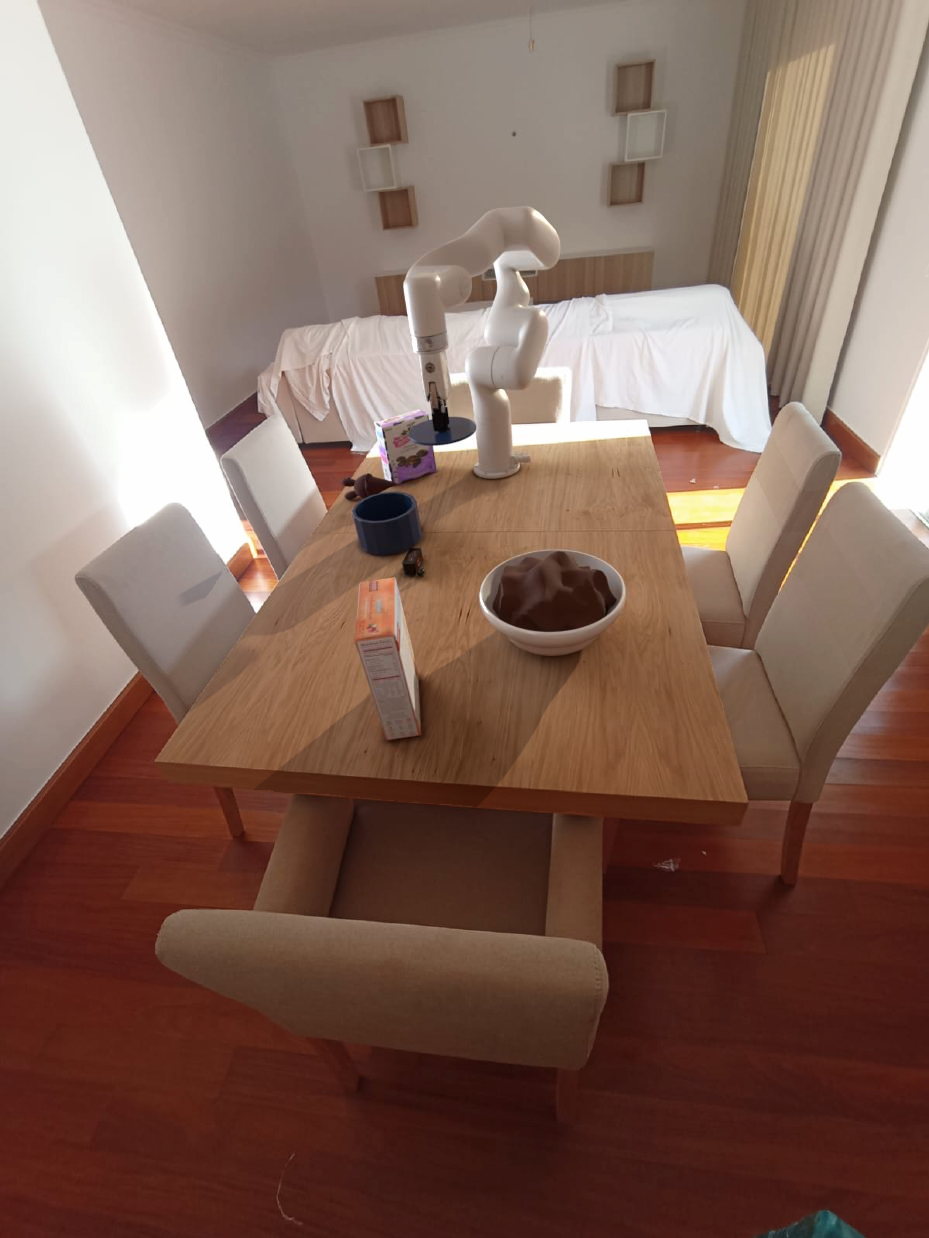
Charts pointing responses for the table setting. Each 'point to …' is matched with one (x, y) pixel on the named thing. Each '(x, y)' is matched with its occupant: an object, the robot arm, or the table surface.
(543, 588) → the chocolate pudding bowl
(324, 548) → the table surface
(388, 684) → the cracker box
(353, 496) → the icecream
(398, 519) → the pot
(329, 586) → the table surface
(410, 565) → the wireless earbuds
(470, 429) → the lid
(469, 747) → the table surface
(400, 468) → the candy box
